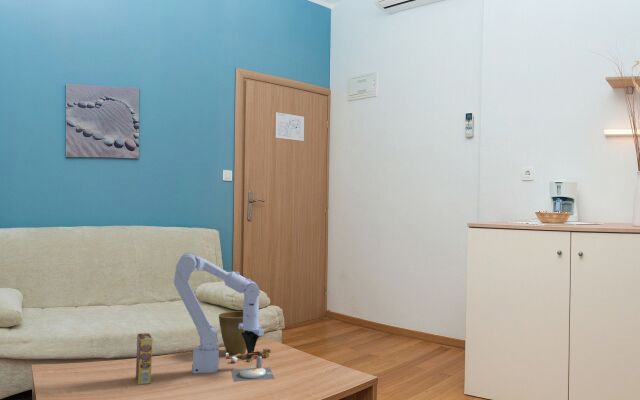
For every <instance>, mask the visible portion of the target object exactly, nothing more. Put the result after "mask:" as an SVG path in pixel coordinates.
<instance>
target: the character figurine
mask: <svg viewBox="0 0 640 400" xmlns="http://www.w3.org/2000/svg"><path fill="white" fill-rule="evenodd" d="M270 353H272V350H271V349H269V348H263V349H262V350H261V351H260V350H259V351H258V350H257V351H254V352H247V353H244V354H237V355H234V356H231V355H229V354H228V353H227V352H226V353H225V359H226V360H230V359H231V361H230V363H231V364H236V363H238V362H240V361H245V360H247V362H248V363H251V362H253V361H254V360H257V356H262V359H268V358H269V357H270Z"/></svg>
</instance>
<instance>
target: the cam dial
mask: <svg viewBox="0 0 640 400" xmlns="http://www.w3.org/2000/svg"><path fill="white" fill-rule="evenodd" d="M262 359H263V358H262V356H257V359H256V366H249V367H244V368H240V369H241V370H240V376H241V377H244V378H260V377H263V376H265V374H266V370H265V369H264V368H265V367H262V363H263V361H262Z"/></svg>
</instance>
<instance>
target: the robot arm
mask: <svg viewBox="0 0 640 400" xmlns="http://www.w3.org/2000/svg"><path fill="white" fill-rule="evenodd" d="M195 269H196V272H200V271H203V272H204V271H205V272H207V273H209V274H210V275H213V276H215V277H217V278H219V279H220V280H223V282H224V285H225V286H226V287H228V288H230V289H232V290H234V291H236V292H237V293H239V294H243V302H242V304H243V305H242V306H243V307H242V310H243V311H242V312H243V323H240V324H239V329H243V330H245V332H243V333H242V336H243V338H244V341H245V344H246V348H247V349H246V351H247V352H255V349H256V344H257V341H258V339H259V337H260V336H264V334H265V331H264V329H263V328H262V325H260V324H259V322H260V321H259V318H260V316H259V315H260V314H259V312H260V310H259V309H260V305H259V304H260V302H259V301H260V300H259V298H260V297H259V296H260V294H261V290H260V287H259V286H258V284H257V283H256V282H254V281H253V280H251V279H250V278H246V277H244V276H242V275H240V272H239V271H229V272H228V271H226V270H224V269H223V268H221V267H219V266H218V265H216V264H214V263H213V262H211V261H209V260H208V259H205V258H203V257H201V256H198V255H195V254H193V253H191V252H186V253H183V254H182V256H181V257H180V258H179V260H178V261H177V263H176V266H175V273H174V279H173V284H174V287H175V289H176V290H177V292H178V294H179V296H180V299H181V300H182V302H183V304H184V306H185V308H186V311H187V312H188V315H189V316H190V318H191V321H192V322H193V325H194V326H195V328H196V331H197V334H198V336H199V343H200V344H199V346H198V348H193V351H192V365H191V370H192V374H211V373H216V372H218V371H219V365H220V363H219V362H220V345H219V344H218V342H219V338H218V337H219V334H218V330H217V329H216V328H215V327H214V326H213V325H212V324H211V323H210V321H209V320H208V318H207V316H206V314H205V312H204V310H203V308H202V306H201V304H200V302H199V300H198V298H197V296H196V295H195V292H194V290H193V288H192V286H191V285H190V283H189V280H190V277H191V275H192V273H193V272H194V271H195Z"/></svg>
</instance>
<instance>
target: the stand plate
mask: <svg viewBox="0 0 640 400" xmlns="http://www.w3.org/2000/svg"><path fill="white" fill-rule="evenodd" d="M263 368H264V369H265V370H266V374H265V376H263V377H260V378H244V377H241V376H240V370H241V369H242V368H240V369H237V368H236V369H231V374H232V378H233V382H235V383H236V382H248V381H262V380H275V379H276V377H275V376H274V373H273V372H272V369H271V368H270V367H263Z"/></svg>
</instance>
